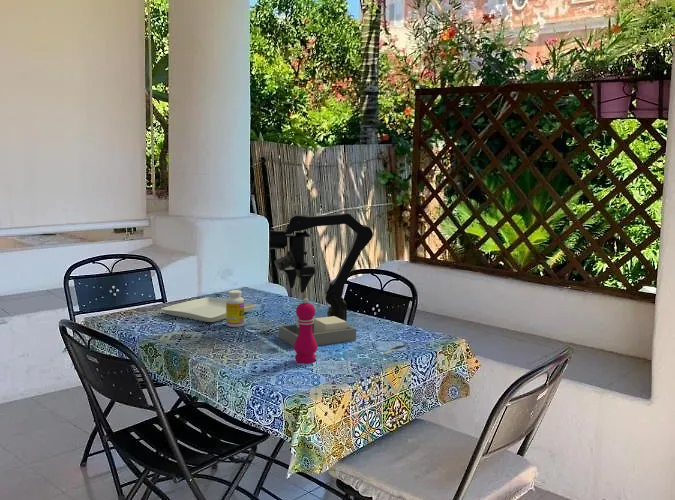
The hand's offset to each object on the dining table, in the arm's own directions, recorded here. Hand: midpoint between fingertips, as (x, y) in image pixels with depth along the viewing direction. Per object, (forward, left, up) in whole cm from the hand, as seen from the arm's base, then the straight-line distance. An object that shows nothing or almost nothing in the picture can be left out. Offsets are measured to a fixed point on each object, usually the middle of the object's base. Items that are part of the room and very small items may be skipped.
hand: (296, 290), depth 265 cm
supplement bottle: (+21, -9, -13) cm, 26 cm away
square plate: (+24, -30, -14) cm, 41 cm away
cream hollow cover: (-1, +24, -12) cm, 27 cm away
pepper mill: (+17, +42, -13) cm, 47 cm away
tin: (+9, +24, -12) cm, 29 cm away
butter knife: (-10, +47, -14) cm, 49 cm away
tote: (+4, +24, -13) cm, 28 cm away
